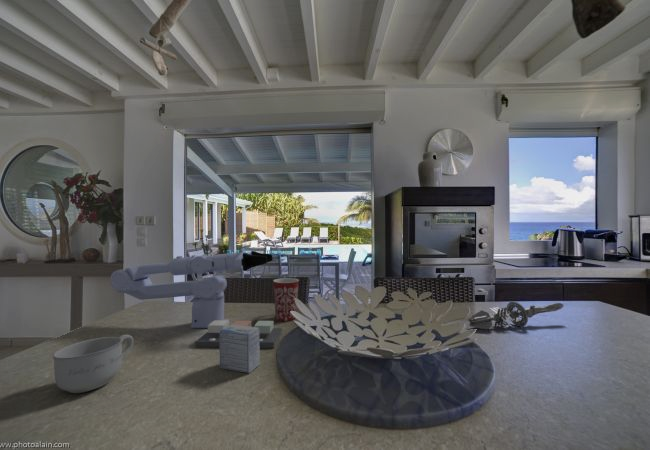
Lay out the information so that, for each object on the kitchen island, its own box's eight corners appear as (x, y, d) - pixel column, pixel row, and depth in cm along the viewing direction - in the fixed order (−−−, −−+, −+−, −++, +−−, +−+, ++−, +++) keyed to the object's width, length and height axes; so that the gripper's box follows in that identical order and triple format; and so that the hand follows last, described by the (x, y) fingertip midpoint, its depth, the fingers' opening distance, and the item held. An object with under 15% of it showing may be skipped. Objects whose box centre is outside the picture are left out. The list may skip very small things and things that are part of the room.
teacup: (64, 407, 50) (65, 361, 50) (43, 389, 56) (44, 348, 56) (148, 373, 62) (148, 336, 62) (124, 361, 68) (124, 327, 68)
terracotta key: (230, 332, 79) (230, 325, 79) (236, 327, 83) (236, 320, 83) (246, 333, 79) (246, 325, 79) (251, 327, 83) (251, 320, 83)
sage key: (254, 333, 79) (254, 325, 79) (258, 327, 83) (258, 320, 83) (270, 333, 78) (270, 325, 79) (273, 327, 83) (273, 320, 83)
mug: (299, 321, 97) (299, 281, 97) (272, 322, 96) (272, 282, 96) (298, 311, 109) (298, 276, 110) (274, 312, 108) (274, 276, 109)
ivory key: (207, 332, 79) (207, 325, 79) (214, 327, 84) (214, 320, 84) (223, 332, 79) (223, 325, 79) (229, 327, 83) (229, 320, 83)
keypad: (195, 347, 76) (195, 340, 76) (213, 332, 87) (213, 326, 87) (273, 348, 75) (273, 341, 75) (281, 333, 86) (281, 327, 86)
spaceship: (578, 302, 90) (554, 288, 97) (479, 320, 84) (462, 304, 91) (571, 323, 93) (548, 307, 100) (475, 342, 87) (459, 324, 94)
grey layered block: (260, 365, 66) (260, 327, 66) (249, 374, 61) (249, 333, 62) (231, 360, 68) (231, 323, 68) (218, 368, 64) (218, 329, 64)
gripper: (219, 251, 88) (262, 247, 87) (235, 248, 102) (273, 245, 102) (221, 274, 87) (264, 270, 87) (237, 268, 102) (275, 265, 101)
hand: (269, 258), depth 94 cm, fingers open, 7 cm apart
